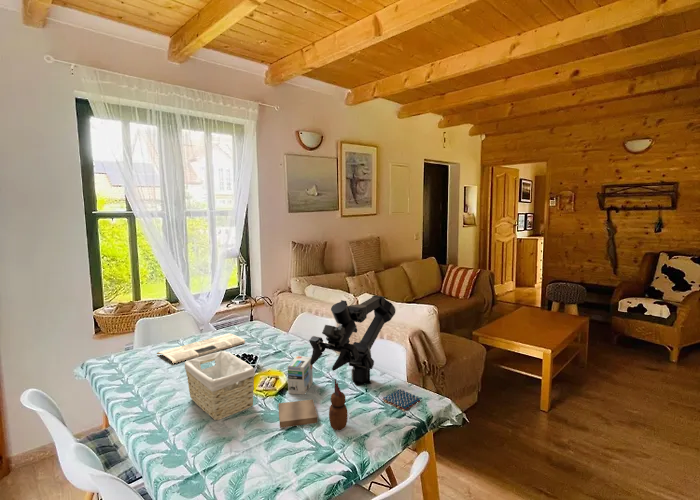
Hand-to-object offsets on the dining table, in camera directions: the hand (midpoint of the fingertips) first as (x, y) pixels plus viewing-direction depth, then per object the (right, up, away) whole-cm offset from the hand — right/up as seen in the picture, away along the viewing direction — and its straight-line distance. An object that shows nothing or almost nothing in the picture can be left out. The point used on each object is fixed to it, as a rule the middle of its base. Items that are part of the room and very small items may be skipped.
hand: (321, 367), depth 132 cm
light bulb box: (-9, -14, +18) cm, 25 cm away
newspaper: (-64, -10, +62) cm, 90 cm away
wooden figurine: (+6, -16, -9) cm, 20 cm away
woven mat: (+28, -15, +7) cm, 32 cm away
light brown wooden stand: (-8, -16, -2) cm, 18 cm away
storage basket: (-36, -15, +7) cm, 40 cm away
